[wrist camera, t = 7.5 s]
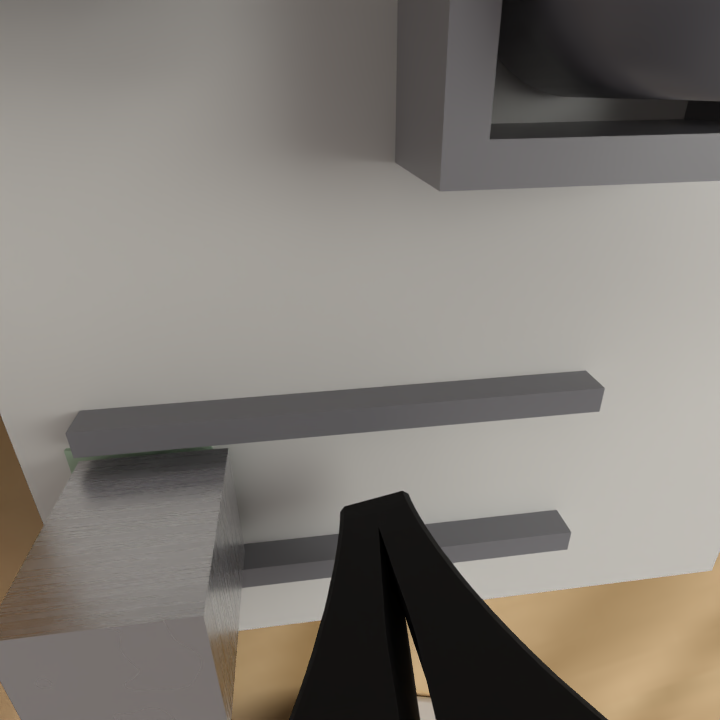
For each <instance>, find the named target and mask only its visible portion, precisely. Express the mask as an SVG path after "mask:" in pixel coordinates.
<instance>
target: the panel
mask: <svg viewBox="0 0 720 720" xmlns="http://www.w3.org/2000/svg"><path fill="white" fill-rule="evenodd" d="M501 10H502V0H0V415H1V417H2V420H3V422H4V425H5V427H6V430H7V432H8V435H9V438H10V440H11V443H12V445H13V448H14V450H15V453H16V455H17V458H18V460H19V463H20V466H21V468H22V471H23V473H24V476H25V478H26V481H27V483H28V486H29V489H30V491H31V494H32V496H33V499H34V501H35V504H36V506H37V509H38V512H39V514H40V517H41V519H42V522H43V524H45V522H46V521H47V519H48V517H49V515H50V513H51V511H52V510H53V508H54V506H55V504H56V502H57V500H58V499H59V497H60V495H61V493H62V491H63V489H64V488H65V486H66V484H67V482H68V480H69V479H70V477H71V475H72V473H73V471H74V469H75V468H76V466H77V464H78V462H79V461H87V460H99V459H110V458H121V457H132V456H143V455H155V454H166V453H177V452H188V451H199V450H210V449H222V448H229V454H230V461H231V467H232V473H233V479H234V486H235V492H236V498H237V504H238V511H239V517H240V523H241V529H242V536H243V542H244V548H245V555H244V567H243V580H242V592H241V605H240V617H239V630H238V631H240V630H248V629H256V628H264V627H272V626H280V625H287V624H295V623H303V622H311V621H319V620H321V619H322V616H323V612H324V608H325V604H326V600H327V595H328V591H329V586H330V581H331V577H332V572H333V567H334V562H335V556H336V550H337V543H338V535H339V525H340V511H341V510H342V509H343V507H344V506H348V505H351V504H355V503H359V502H362V501H366V500H370V499H374V498H377V497H381V496H385V495H388V494H392V493H396V492H399V491H404V492H406V493H408V494H409V496H410V498H411V501H412V503H413V505H414V507H415V509H416V510H417V512H418V514H419V516H420V517H421V519H422V521H423V522H424V524H425V526H426V527H427V529H428V530H429V532H430V533H431V535H432V536H433V538H434V539H435V540H436V542H437V543H438V545H439V546H440V547H441V549H442V550H443V552H444V553H445V554H446V555H447V557H448V558H449V559H450V561H451V562H452V563H453V564H454V566H455V567H456V568H457V570H458V571H459V572H460V574H461V575H462V576H463V577H464V578H465V580H466V581H467V582H468V583H469V584H470V586H471V587H472V588H473V589H474V590H475V592H476V593H477V594H478V595H479V596H480V597H481V598H482V600H484V599H492V598H499V597H507V596H515V595H523V594H531V593H539V592H547V591H554V590H562V589H570V588H578V587H586V586H594V585H602V584H609V583H617V582H625V581H633V580H641V579H649V578H657V577H664V576H672V575H680V574H688V573H696V572H704V571H712V568H713V566H714V564H715V561H716V559H717V557H718V554H719V552H720V101H694V100H657V99H619V98H582V97H561V96H556V95H551V94H547V93H544V92H542V91H539V90H537V89H534V88H532V87H530V86H529V85H527V84H525V83H524V82H522V81H520V80H519V79H518V78H517V77H516V76H514V75H513V74H512V73H511V72H510V71H509V70H508V69H507V68H506V67H505V66H504V65H503V64H502V62H501V61H500V60H499V59H498V58H497V54H498V43H499V32H500V21H501Z"/></svg>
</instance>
